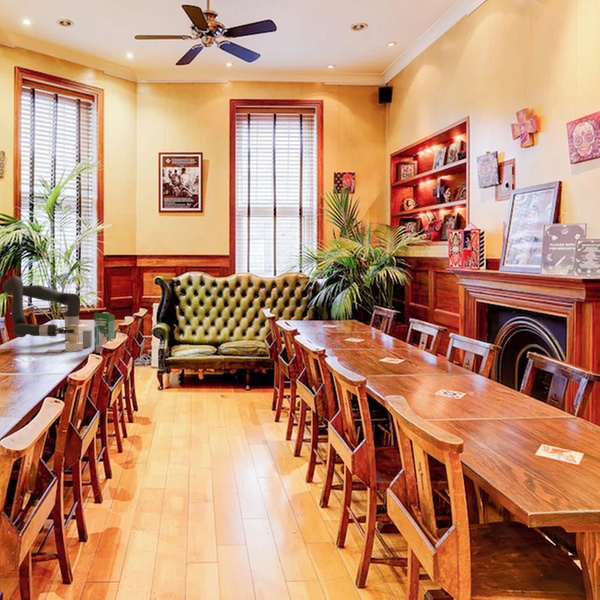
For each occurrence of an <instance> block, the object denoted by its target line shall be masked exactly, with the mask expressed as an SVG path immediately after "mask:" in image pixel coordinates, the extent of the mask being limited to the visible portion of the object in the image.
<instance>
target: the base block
mask: <svg viewBox="0 0 600 600" xmlns="http://www.w3.org/2000/svg"><path fill="white" fill-rule="evenodd" d="M64 350H65V352H66V351H68V352H75V351H74V350H83V351H84V348H83V340H79V342H78V343H69V341H65V349H64Z"/></svg>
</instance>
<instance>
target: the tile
mask: <svg viewBox="0 0 600 600" xmlns="http://www.w3.org/2000/svg"><path fill="white" fill-rule="evenodd" d="M62 351H63V352H64V351H65V349H64V348H63V349H48V350H46V351H45V352H44V353H45V354H53V353H52V352H61V353H63V352H62ZM46 352H47V353H46Z"/></svg>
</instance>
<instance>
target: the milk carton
mask: <svg viewBox="0 0 600 600" xmlns="http://www.w3.org/2000/svg"><path fill="white" fill-rule="evenodd" d="M93 316H94V317H93V318H94V319H93V320H94V321H93V322H94V323H93V325H94V353H95V354H101V353H100V347H101V346H102V345H103V344H105V343H106V342H108V341H109V340H111V339H114V338H115V337H116V334H115V333H116V332H115V324H116V323H115V315H114V314H111V313H110V312H107V311H106V312H105V311H103V312H94V315H93Z"/></svg>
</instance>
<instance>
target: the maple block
mask: <svg viewBox="0 0 600 600" xmlns="http://www.w3.org/2000/svg"><path fill="white" fill-rule="evenodd" d="M69 329H74V333H69V341H68V342H69V343H78V342H79V341H80V324H79V325H69Z"/></svg>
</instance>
